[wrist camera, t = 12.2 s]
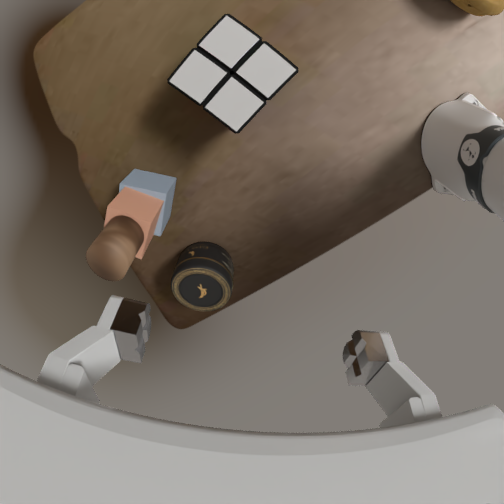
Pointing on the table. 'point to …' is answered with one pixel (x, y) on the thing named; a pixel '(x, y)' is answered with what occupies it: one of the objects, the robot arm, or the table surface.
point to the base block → (153, 191)
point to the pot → (480, 6)
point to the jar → (203, 277)
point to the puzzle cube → (232, 73)
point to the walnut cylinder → (115, 248)
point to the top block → (137, 212)
